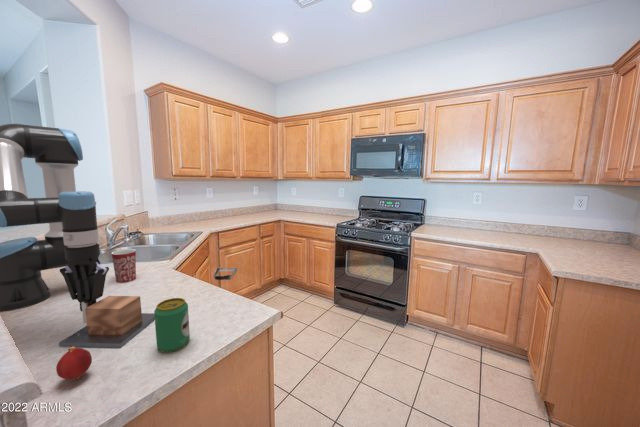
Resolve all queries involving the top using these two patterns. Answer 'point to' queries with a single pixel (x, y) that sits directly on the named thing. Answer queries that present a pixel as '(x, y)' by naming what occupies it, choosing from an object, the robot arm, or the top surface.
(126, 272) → the red patterned paper cup
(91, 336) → the boss plate
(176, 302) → the beverage can
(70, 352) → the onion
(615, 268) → the top surface
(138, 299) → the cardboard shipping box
